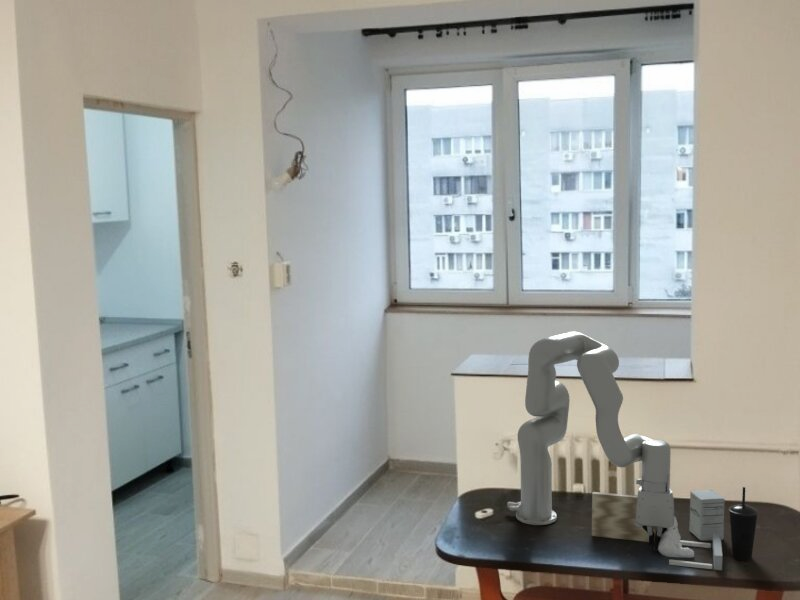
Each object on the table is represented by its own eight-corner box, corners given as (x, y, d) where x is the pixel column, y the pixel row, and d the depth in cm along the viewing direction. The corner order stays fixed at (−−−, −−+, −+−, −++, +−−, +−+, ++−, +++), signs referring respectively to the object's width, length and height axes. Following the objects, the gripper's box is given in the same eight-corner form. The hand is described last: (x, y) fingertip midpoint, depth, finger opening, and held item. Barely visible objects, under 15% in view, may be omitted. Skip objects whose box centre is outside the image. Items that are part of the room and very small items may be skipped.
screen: (591, 535, 249) (592, 493, 248) (594, 527, 255) (594, 486, 254) (669, 544, 242) (670, 500, 241) (670, 535, 248) (671, 493, 246)
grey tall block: (688, 531, 251) (689, 490, 249) (712, 529, 252) (713, 489, 250) (699, 541, 244) (700, 499, 242) (724, 539, 244) (725, 497, 243)
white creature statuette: (696, 557, 233) (697, 516, 231) (669, 562, 230) (670, 520, 229) (674, 544, 242) (675, 504, 240) (649, 549, 239) (649, 508, 238)
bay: (669, 564, 229) (669, 550, 229) (670, 542, 243) (670, 529, 243) (722, 570, 225) (722, 556, 225) (719, 547, 239) (720, 534, 239)
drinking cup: (722, 552, 236) (724, 483, 234) (748, 550, 237) (750, 482, 234) (735, 564, 229) (737, 493, 226) (762, 562, 229) (764, 491, 227)
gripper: (627, 486, 234) (626, 550, 236) (683, 492, 229) (682, 556, 231) (628, 478, 241) (628, 539, 243) (684, 482, 236) (682, 545, 238)
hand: (654, 547), depth 237 cm, fingers closed
